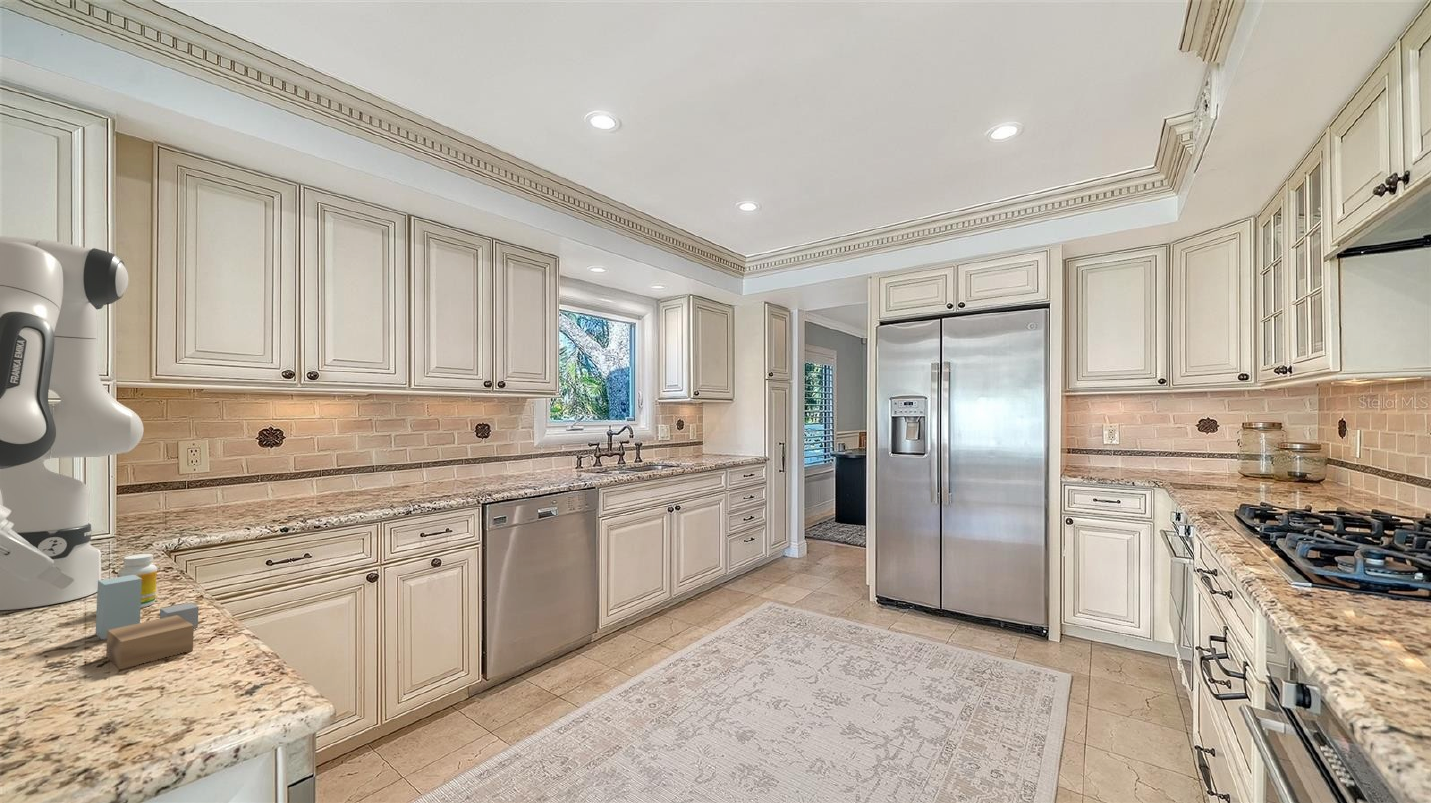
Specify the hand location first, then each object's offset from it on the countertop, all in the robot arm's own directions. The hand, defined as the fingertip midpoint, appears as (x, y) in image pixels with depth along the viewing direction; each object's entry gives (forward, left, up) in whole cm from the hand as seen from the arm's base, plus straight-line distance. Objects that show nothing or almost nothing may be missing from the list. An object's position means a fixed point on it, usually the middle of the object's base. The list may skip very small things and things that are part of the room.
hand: (62, 579), depth 90 cm
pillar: (0, +7, -11) cm, 12 cm away
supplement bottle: (-16, +12, -11) cm, 23 cm away
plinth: (+16, +7, -11) cm, 20 cm away
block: (+7, +13, -11) cm, 18 cm away
